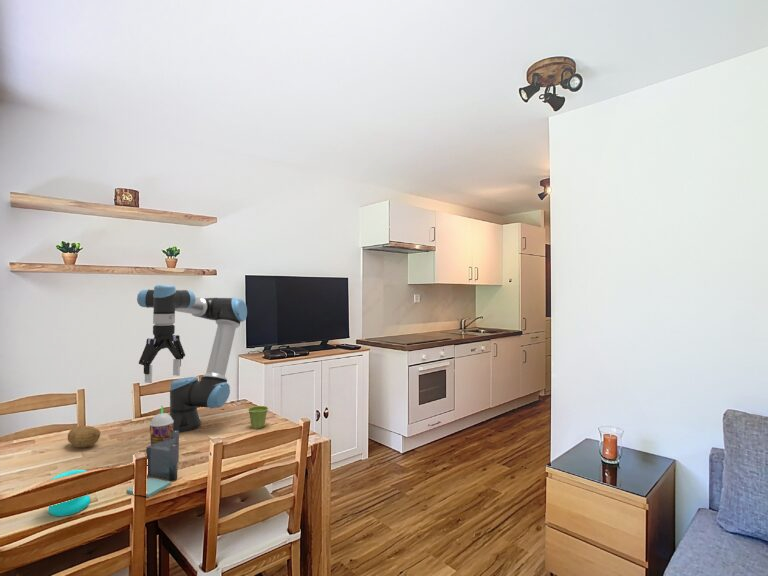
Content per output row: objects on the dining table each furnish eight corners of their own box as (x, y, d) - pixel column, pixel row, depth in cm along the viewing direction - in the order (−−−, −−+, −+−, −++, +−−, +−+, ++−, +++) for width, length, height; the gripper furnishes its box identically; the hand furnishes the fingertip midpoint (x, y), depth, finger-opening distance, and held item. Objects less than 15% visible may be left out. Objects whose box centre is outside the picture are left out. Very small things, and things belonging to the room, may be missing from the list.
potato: (84, 440, 177) (84, 421, 177) (106, 444, 172) (107, 425, 172) (59, 448, 167) (59, 428, 167) (82, 453, 162) (82, 433, 162)
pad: (126, 493, 132) (126, 489, 132) (149, 480, 141) (149, 477, 141) (148, 497, 130) (148, 494, 130) (170, 484, 138) (170, 481, 138)
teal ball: (78, 465, 129) (98, 472, 125) (78, 497, 129) (97, 505, 125) (41, 478, 120) (61, 486, 116) (40, 512, 120) (60, 521, 116)
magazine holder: (144, 475, 144) (145, 441, 144) (174, 460, 157) (175, 429, 157) (173, 481, 141) (173, 446, 141) (201, 465, 154) (202, 433, 154)
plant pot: (264, 430, 192) (264, 411, 192) (244, 429, 192) (245, 411, 192) (270, 423, 201) (270, 406, 201) (251, 423, 202) (251, 405, 202)
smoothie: (147, 463, 155) (148, 410, 155) (150, 454, 162) (151, 404, 162) (172, 459, 158) (173, 407, 158) (173, 451, 166) (174, 402, 166)
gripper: (144, 327, 147) (143, 386, 147) (195, 322, 171) (194, 373, 171) (128, 326, 149) (127, 384, 149) (180, 321, 173) (179, 372, 173)
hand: (162, 378), depth 160 cm, fingers open, 13 cm apart
